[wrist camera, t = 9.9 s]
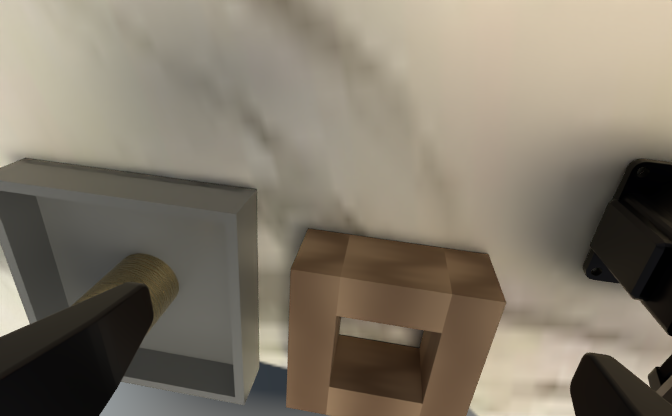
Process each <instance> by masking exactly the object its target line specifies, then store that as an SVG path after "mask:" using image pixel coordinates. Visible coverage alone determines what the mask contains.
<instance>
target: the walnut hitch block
mask: <svg viewBox="0 0 672 416" xmlns="http://www.w3.org/2000/svg"><path fill="white" fill-rule="evenodd" d="M505 305H506V301H505V298H504V295H503V292H502V290H501V287H500V284H499V282H498V279H497V276H496V273H495V271H494V268H493V265H492V263H491V260H490V257H489V254H482V253H475V252H468V251H461V250H454V249H447V248H440V247H433V246H426V245H419V244H412V243H405V242H398V241H391V240H384V239H377V238H371V237H364V236H357V235H350V234H343V233H336V232H329V231H322V230H315V229H308V230H307V232H306V235H305V237H304V239H303V242H302V244H301V246H300V249H299V251H298V253H297V256H296V258H295V260H294V263H293V265H292V267H291V274H290V306H289V337H288V369H287V401H286V407H288V408H294V409H299V410H305V411H310V412H315V413H321V414H325V415H331V416H466V415H467V412H468V409H469V406H470V403H471V400H472V398H473V395H474V392H475V389H476V386H477V384H478V381H479V378H480V375H481V372H482V369H483V367H484V364H485V361H486V358H487V355H488V353H489V350H490V347H491V344H492V341H493V338H494V336H495V333H496V330H497V327H498V324H499V322H500V319H501V316H502V313H503V310H504V307H505ZM341 317H346V318H352V319H358V320H364V321H370V322H377V323H383V324H389V325H395V326H401V327H407V328H413V329H419V330H424V332H423V336H422V340H421V344H420V348H414V347H408V346H402V345H397V344H391V343H385V342H379V341H373V340H367V339H361V338H355V337H349V336H343V335H339V330H340V321H341Z"/></svg>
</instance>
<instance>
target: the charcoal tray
mask: <svg viewBox="0 0 672 416" xmlns="http://www.w3.org/2000/svg"><path fill="white" fill-rule="evenodd" d="M0 244H1V247H2V249H3V252H4V255H5V257H6V260H7V263H8V266H9V268H10V271H11V274H12V276H13V279H14V282H15V285H16V287H17V290H18V293H19V296H20V298H21V301H22V304H23V306H24V309H25V312H26V315H27V317H28V320H29V323H30V324H32V323H34V322H36V321H38V320H41V319H43V318H45V317H48V316H50V315H52V314H54V313H57V312H59V311H61V310H64V309H66V308H68V307H70V306H72V305H73V304H74V303H75V302H76V301H77V300H78V299H79V298H81V297H82V296H83V295H84V294H85V293H86V292H87V291H88V290H89V289H91V288H92V287H93V286H94V285H95V284H96V283H97V282H98V281H100V280H101V279H102V278H103V277H104V276H105V275H106V274H107V273H109V272H110V271H111V270H112V269H113V268H114V267H115V266H116V265H117V264H119V263H120V262H121V261H122V260H123V259H124V258H126V257H127V256H129V255H131V254H136V253H143V254H149V255H152V256H154V257H157V258H159V259H160V260H162V261H163V262H165V263H166V264H167V265H168V266H169V267H170V268H171V269H172V270H173V272H174V273H175V275H176V277H177V279H178V282H179V292H178V295H177V297H176V298H175V299H174V300H173V302H172V303H171V304H170V305H169V307H168V308H167V309H166V311H165V312H164V313H163V314H162V316H161V317H160V318H159V320H158V321H157V322H156V323H155V325H154V326H153V327H152V328H151V330H150V331H149V332H148V334H147V335H146V336H145V337H144V339H143V341H142V343H141V345H140V347H139V349H138V351H137V352H136V354H135V356H134V358H133V360H132V362H131V364H130V365H129V367H128V369H127V371H126V373H125V375H124V377H123V379H122V380H121V382H125V383H131V384H137V385H141V386H146V387H152V388H157V389H162V390H168V391H173V392H178V393H184V394H189V395H194V396H199V397H204V398H210V399H215V400H221V401H225V402H231V403H236V404H242V405H244V404H245V402H246V400H247V397H248V394H249V392H250V390H251V387H252V385H253V382H254V380H255V377H256V375H257V372H258V370H259V318H258V251H257V190H256V189H249V188H241V187H234V186H227V185H219V184H212V183H204V182H197V181H190V180H182V179H175V178H168V177H160V176H153V175H145V174H138V173H131V172H123V171H116V170H109V169H101V168H94V167H86V166H79V165H72V164H64V163H57V162H50V161H42V160H35V159H27V158H25V159H22V160H19V161H17V162H14V163H12V164H9V165H6V166H4V167H1V168H0Z"/></svg>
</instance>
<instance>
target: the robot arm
mask: <svg viewBox="0 0 672 416" xmlns="http://www.w3.org/2000/svg"><path fill="white" fill-rule="evenodd" d="M642 167H645V169H644V171H643V172H642V173H640V174H637V171H638V170H639V169H640V168H642ZM590 246H591V249H590V252H589V254H588V256H587V258H586V261H585V263H584V265H583V271H584V273H585V274H586V276H587V277H588V278H590V279H593V280H599V281H606V282H613V283H620V284H621V285H622V286H623V288H624V289H625V290H626V291H627V292H628V294H629V295H630V296H631V297H632V298H633V299H635V300H640V301H641V303H642V304H643V305H644V306H645V307H646V309H647V310H648V311H649V312H650V313H651V315H652V316H653V317H654V318H655V319H656V321H657V322H658V323H659V324H660V325H661V327H662V328H663V329H664V330H665V331H666V333H667V334H668V335H670V336H672V162H666V161H657V160H648V159H637V160H635V161H633V162H631V163H630V164H629V165H628V167H627V169H626V171H625V173H624V175H623V178H622V180H621V182H620V184H619V187H618V189H617V191H616V193H615V195H614V198H613V200H612V201H611V202H609V203H608V205H607V208H606V210H605V212H604V214H603V217H602V219H601V221H600V223H599V226H598V228H597V230H596V232H595V235H594V237H593V239H592V242H591V244H590ZM594 268H598V269H597V270H596V271H592V270H593V269H594ZM153 317H154V311H153V306H152V301H151V296H150V291H149V288H148V287H147V285H145V284H142V283H135V282H126V283H123V284H121V285H119V286H116V287H114V288H112V289H109V290H107V291H105V292H103V293H100V294H98V295H96V296H93V297H91V298H89V299H86V300H84V301H82V302H80V303H77V304H75V305H73V306H70V307H68V308H66V309H64V310H61V311H59V312H57V313H54V314H52V315H50V316H48V317H45V318H43V319H41V320H38V321H36V322H34V323H32V324H29V325H27V326H25V327H22V328H20V329H18V330H15V331H13V332H11V333H9V334H6V335H4V336H2V337H0V416H99V415H100V413H101V412H102V410H103V409H104V407H105V406H106V404H107V403H108V401H109V400H110V398H111V397H112V395H113V394H114V392H115V390H116V389H117V387H118V385H119V384H120V382H121V380H122V379H123V377H124V375H125V373H126V371H127V369H128V367H129V365H130V364H131V362H132V360H133V358H134V356H135V354H136V352H137V351H138V349H139V347H140V345H141V343H142V341H143V339H144V337H145V336H146V334H147V332H148V330H149V328H150V326H151V324H152V321H153ZM648 380H649V384H650V387H651V388H650V387H649V386H648V385H647V384H645V383H644V382H643V381H642V380H640V379H639V378H638V377H637V376H635V375H634V374H633V373H632V372H630V371H629V370H628V369H627V368H626V367H624V366H623V365H622V364H621V363H619V362H618V361H617V360H616V359H614V358H613V357H611V356H608V355H603V354H597V353H586V354H585V355H584V356H583V357H582V359H581V361H580V363H579V366H578V368H577V370H576V372H575V374H574V376H573V378H572V381H571V385H570V393H571V398H572V402H573V406H574V411H575V415H576V416H672V355H671V356H670V357H669V358H668V359H667V360H666V361H665V362H664V363H663V364H662V365H661V367H655V368H654V369H653V370H652V372H651V373H650V374H649V375H648Z"/></svg>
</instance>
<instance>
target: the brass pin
mask: <svg viewBox="0 0 672 416" xmlns="http://www.w3.org/2000/svg"><path fill="white" fill-rule="evenodd" d="M126 282H135V283H142V284H145V285H147V287H148V288H149V291H150V296H151V301H152V306H153V311H154V317H153V321H152V324H151V326H150V328H149V330H148V332H149V331H150V330H151V328H152V327H153V326H154V325H155V323H156V322H157V321H158V320H159V318H160V317H161V316H162V314H163V313H164V312H165V311H166V309H167V308H168V307H169V305H170V304H171V303H172V302H173V300H174V299H175V298H176V297H177V295H178V292H179V282H178V279H177V277H176V275H175V273H174V272H173V270H172V269H171V268H170V267H169V266H168V265H167V264H166V263H165V262H163V261H162V260H160V259H159V258H157V257H154V256H152V255H149V254H143V253H136V254H131V255H129V256H127V257H126V258H124V259H123V260H122V261H121V262H120V263H119V264H117V265H116V266H115V267H114V268H113V269H112V270H111V271H110V272H109V273H107V274H106V275H105V276H104V277H103V278H102V279H101V280H100V281H98V282H97V283H96V284H95V285H94V286H93V287H92V288H91V289H89V290H88V291H87V292H86V293H85V294H84V295H83V296H82V297H81V298H79V299H78V300H77V301H76V302H75V303H74V304H73V305H75V304H77V303H80V302H82V301H84V300H86V299H89V298H91V297H93V296H96V295H98V294H100V293H103V292H105V291H107V290H109V289H112V288H114V287H116V286H119V285H121V284H123V283H126ZM73 305H72V306H73ZM148 332H147V334H148ZM147 334H146V335H147Z"/></svg>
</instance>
